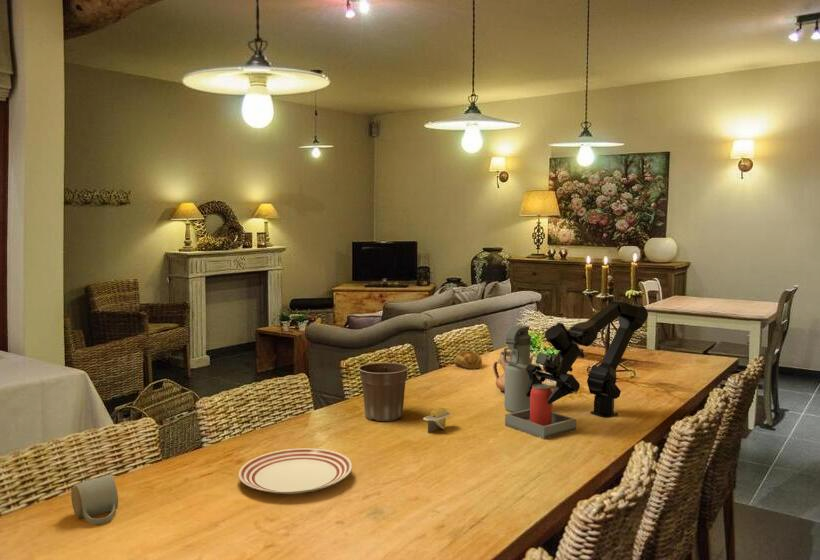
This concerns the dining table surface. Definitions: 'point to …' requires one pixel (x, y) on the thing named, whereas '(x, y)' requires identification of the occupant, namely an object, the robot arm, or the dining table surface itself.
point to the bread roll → (468, 360)
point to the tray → (523, 423)
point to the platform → (437, 419)
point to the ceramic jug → (501, 380)
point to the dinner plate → (295, 470)
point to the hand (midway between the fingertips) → (537, 399)
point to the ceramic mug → (95, 499)
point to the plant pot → (383, 390)
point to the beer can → (540, 404)
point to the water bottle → (517, 369)
